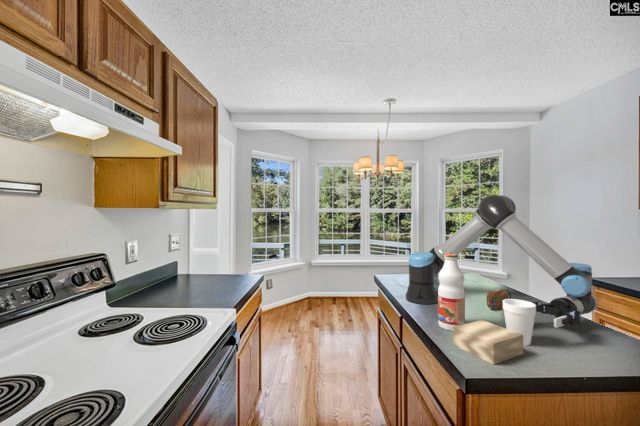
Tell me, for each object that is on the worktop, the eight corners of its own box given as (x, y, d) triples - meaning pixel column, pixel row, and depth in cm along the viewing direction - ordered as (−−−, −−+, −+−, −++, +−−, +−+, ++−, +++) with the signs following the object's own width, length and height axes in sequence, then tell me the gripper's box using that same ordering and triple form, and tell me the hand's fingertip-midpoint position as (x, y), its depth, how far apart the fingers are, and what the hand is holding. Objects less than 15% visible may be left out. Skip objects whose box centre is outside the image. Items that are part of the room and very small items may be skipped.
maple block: (453, 344, 97) (452, 326, 97) (481, 336, 103) (481, 319, 103) (493, 364, 85) (493, 343, 85) (523, 354, 91) (523, 334, 91)
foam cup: (537, 350, 93) (537, 309, 93) (503, 343, 98) (502, 304, 98) (534, 339, 101) (534, 301, 101) (503, 333, 106) (502, 297, 106)
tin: (491, 311, 129) (491, 292, 129) (485, 309, 131) (484, 291, 131) (512, 306, 136) (511, 288, 136) (505, 304, 138) (504, 286, 138)
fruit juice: (469, 331, 108) (469, 255, 108) (444, 332, 108) (443, 255, 108) (458, 322, 117) (457, 252, 117) (434, 322, 117) (433, 252, 117)
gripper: (609, 329, 100) (576, 341, 91) (530, 307, 122) (497, 316, 113) (609, 307, 100) (576, 317, 91) (530, 289, 122) (497, 296, 113)
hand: (532, 316), depth 102 cm, fingers open, 13 cm apart
